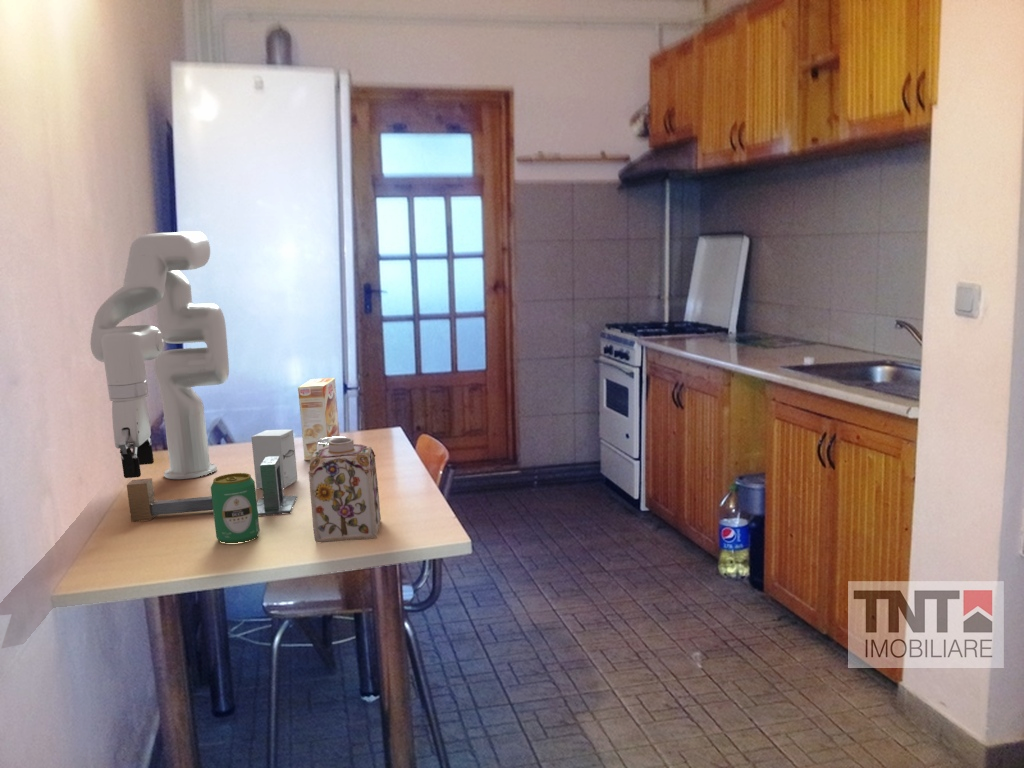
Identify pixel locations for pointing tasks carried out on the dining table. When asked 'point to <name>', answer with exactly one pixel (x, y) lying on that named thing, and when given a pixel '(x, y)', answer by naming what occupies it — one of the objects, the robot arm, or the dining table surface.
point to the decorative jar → (344, 492)
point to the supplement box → (275, 453)
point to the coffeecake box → (318, 412)
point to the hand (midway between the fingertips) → (139, 470)
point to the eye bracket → (273, 489)
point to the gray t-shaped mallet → (159, 502)
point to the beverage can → (235, 508)
